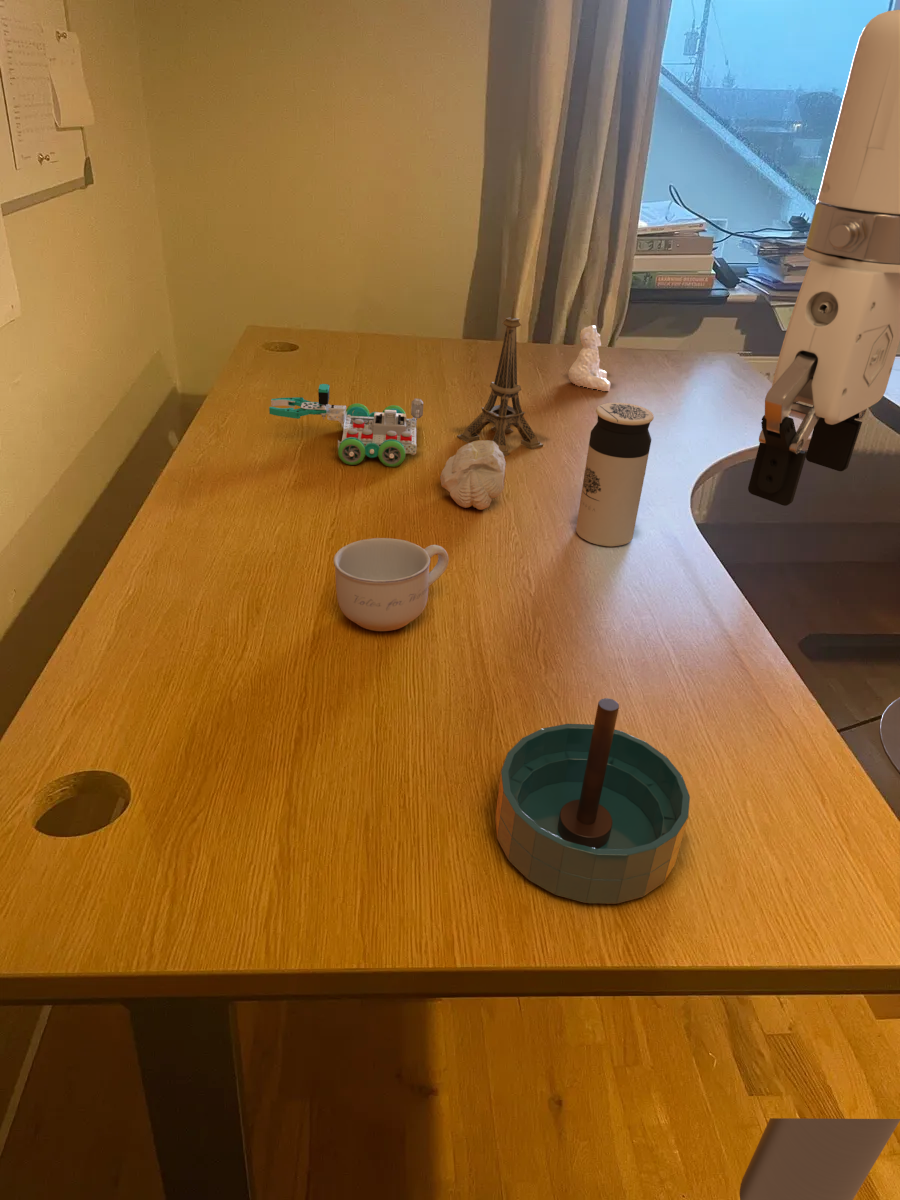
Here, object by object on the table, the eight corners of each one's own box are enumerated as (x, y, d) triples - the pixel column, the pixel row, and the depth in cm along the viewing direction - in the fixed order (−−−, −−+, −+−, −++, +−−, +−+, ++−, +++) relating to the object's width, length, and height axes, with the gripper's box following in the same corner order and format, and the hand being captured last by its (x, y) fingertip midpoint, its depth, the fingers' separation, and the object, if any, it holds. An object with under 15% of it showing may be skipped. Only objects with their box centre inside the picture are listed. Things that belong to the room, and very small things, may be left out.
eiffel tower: (543, 446, 153) (562, 296, 140) (497, 457, 147) (512, 302, 134) (502, 426, 160) (517, 282, 147) (457, 437, 154) (468, 287, 141)
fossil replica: (458, 521, 126) (518, 516, 131) (469, 468, 121) (530, 465, 126) (422, 482, 134) (479, 479, 139) (432, 431, 130) (490, 429, 135)
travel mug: (621, 521, 129) (643, 401, 120) (640, 547, 122) (665, 422, 113) (569, 522, 128) (587, 401, 118) (584, 548, 121) (605, 422, 112)
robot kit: (277, 421, 154) (275, 368, 150) (421, 428, 156) (424, 376, 151) (262, 463, 139) (259, 405, 134) (422, 470, 140) (425, 413, 135)
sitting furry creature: (610, 393, 180) (620, 333, 174) (568, 390, 180) (576, 330, 174) (605, 379, 188) (614, 321, 182) (564, 376, 188) (572, 318, 182)
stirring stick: (604, 812, 77) (631, 688, 70) (614, 850, 73) (643, 723, 66) (554, 811, 77) (576, 686, 70) (561, 849, 73) (585, 721, 66)
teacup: (349, 649, 97) (349, 586, 93) (323, 599, 105) (322, 539, 101) (466, 630, 102) (472, 569, 98) (432, 583, 110) (436, 525, 106)
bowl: (652, 776, 82) (664, 726, 79) (695, 910, 69) (712, 857, 66) (489, 772, 82) (495, 721, 78) (502, 907, 69) (510, 852, 65)
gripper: (877, 261, 50) (796, 532, 59) (970, 237, 61) (890, 468, 70) (754, 239, 54) (696, 495, 63) (863, 220, 65) (800, 440, 74)
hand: (798, 481), depth 67 cm, fingers open, 9 cm apart
